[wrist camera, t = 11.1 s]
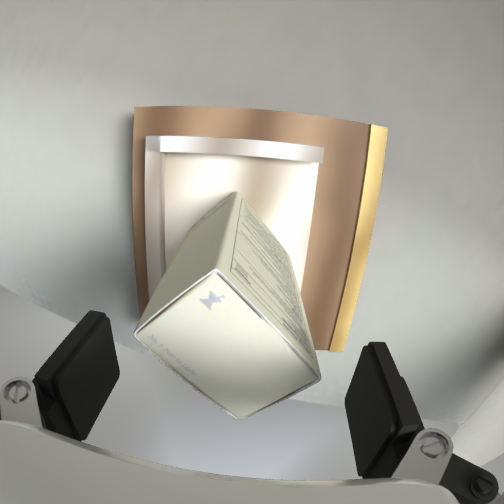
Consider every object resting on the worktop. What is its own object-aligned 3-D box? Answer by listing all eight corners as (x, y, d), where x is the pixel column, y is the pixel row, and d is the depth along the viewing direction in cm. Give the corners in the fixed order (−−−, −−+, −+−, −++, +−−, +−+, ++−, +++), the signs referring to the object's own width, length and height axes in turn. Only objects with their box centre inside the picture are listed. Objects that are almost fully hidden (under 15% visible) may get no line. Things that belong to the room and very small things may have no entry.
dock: (372, 127, 22) (395, 128, 18) (335, 330, 29) (345, 361, 24) (148, 109, 22) (125, 106, 18) (151, 315, 28) (136, 344, 24)
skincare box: (189, 227, 22) (122, 331, 11) (239, 187, 21) (212, 261, 10) (247, 292, 24) (235, 425, 12) (296, 257, 23) (325, 381, 11)
